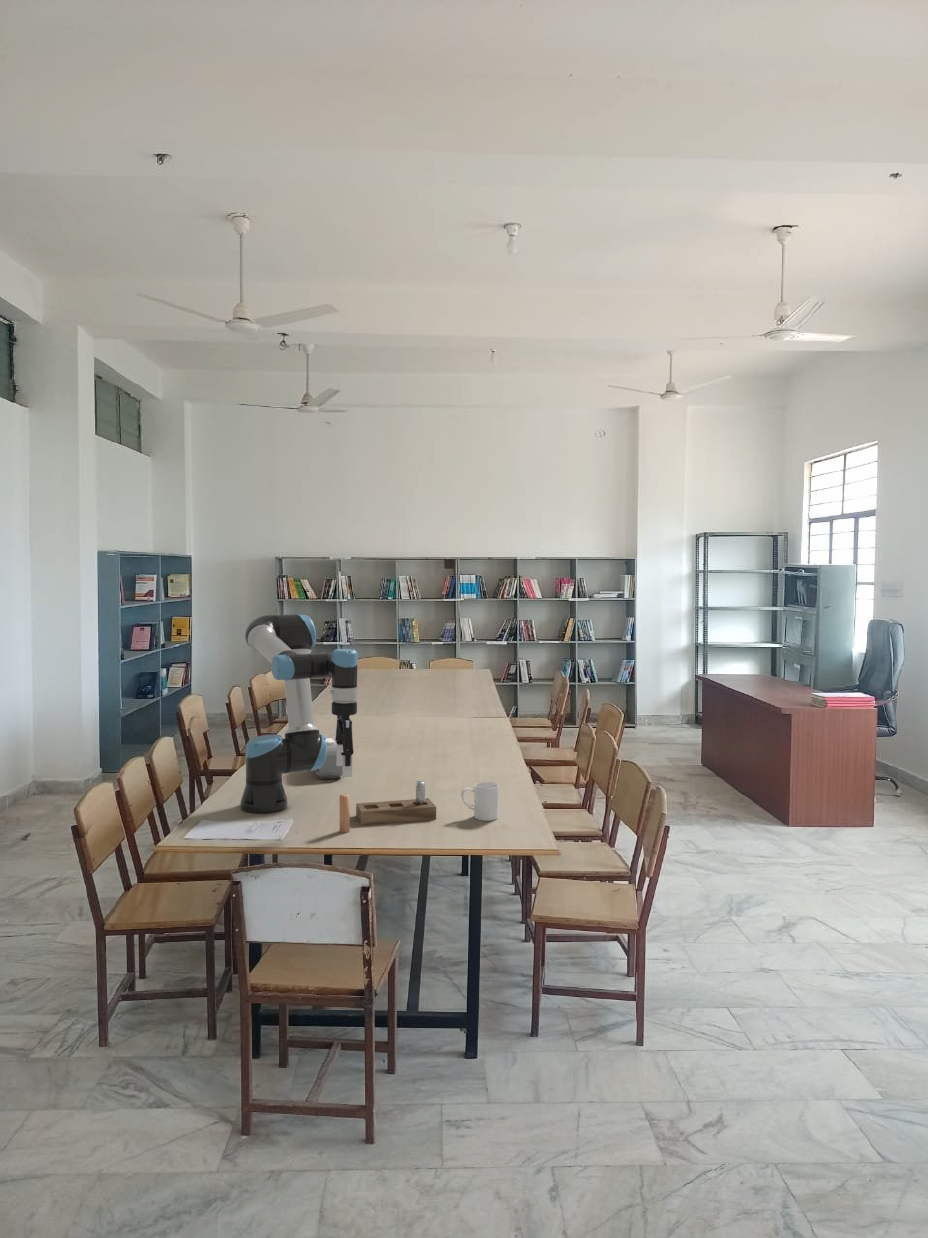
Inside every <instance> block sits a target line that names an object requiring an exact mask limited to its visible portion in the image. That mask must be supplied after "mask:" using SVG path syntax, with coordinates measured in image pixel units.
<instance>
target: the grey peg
mask: <svg viewBox="0 0 928 1238" xmlns="http://www.w3.org/2000/svg"><path fill="white" fill-rule="evenodd" d="M415 799H416V806H417V805H425V799H426V781H424V780H416V781H415Z"/></svg>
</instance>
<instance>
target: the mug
mask: <svg viewBox="0 0 928 1238" xmlns="http://www.w3.org/2000/svg"><path fill="white" fill-rule="evenodd" d="M473 787H474V788H470V787H465V788H463V789H462V791H461V795H460V796H461V800H462V802H463V804H464V805H465V806H466V807H467V808H468V809H470V810H472V811H473V817H474V818H475V820H479V821H484V822H488V821H489V822H490V821H495V820H498V818H499V817H500V815H499V814H500V813H499V810H500V809H499V808H500V807H499V806H500V805H499V804H500V802H499V801H500V785H499V784H498V783H496V782H487V781H485V782H483V781H482V782H476V783H475V784H474V786H473ZM466 791H471V792H473V793H474V797H473V807H472V806H470V804H468V803H467V802H466V800H465V797H464V794H465V792H466Z"/></svg>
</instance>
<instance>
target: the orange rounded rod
mask: <svg viewBox="0 0 928 1238" xmlns="http://www.w3.org/2000/svg"><path fill="white" fill-rule="evenodd" d="M350 799H351V795H350V794H345V793H344V794H340V795H339V833H341V834H346V833H347V834H348V833H349V832H350V829H351V827H350V826H351V825H350V821H351V820H350V819H351V818H350V816H351V815H350V814H351V813H350V812H351V810H350V809H351V808H350V807H351V806H350V804H351V802H350Z"/></svg>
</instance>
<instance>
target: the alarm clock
mask: <svg viewBox="0 0 928 1238" xmlns="http://www.w3.org/2000/svg"><path fill="white" fill-rule="evenodd" d="M325 738H326V742H327V755H326V759H325V762H324V764H323V766H322V767H321V768H319V769H316V770H313V771H314V772H315V774H316V776H318V778H319V779H320V780H324V779H325V780H327V779H339V778H341V777H342V773H343V766H336V745H338V744H337V743H336V740H335V739H334V738H331V737H330V738H327V737H325Z"/></svg>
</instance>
